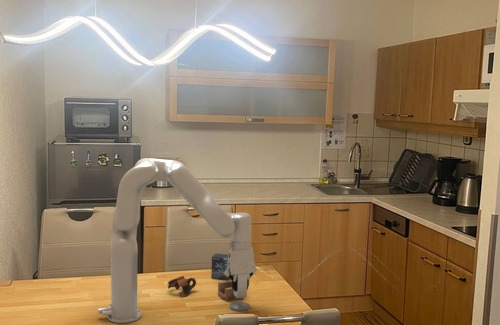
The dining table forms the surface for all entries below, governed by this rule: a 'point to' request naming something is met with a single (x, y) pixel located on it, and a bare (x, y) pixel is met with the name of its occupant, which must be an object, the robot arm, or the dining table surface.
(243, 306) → the disc
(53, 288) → the dining table surface
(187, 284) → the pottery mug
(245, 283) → the pin
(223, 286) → the cradle
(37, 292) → the dining table surface
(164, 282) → the dining table surface
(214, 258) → the box
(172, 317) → the dining table surface
